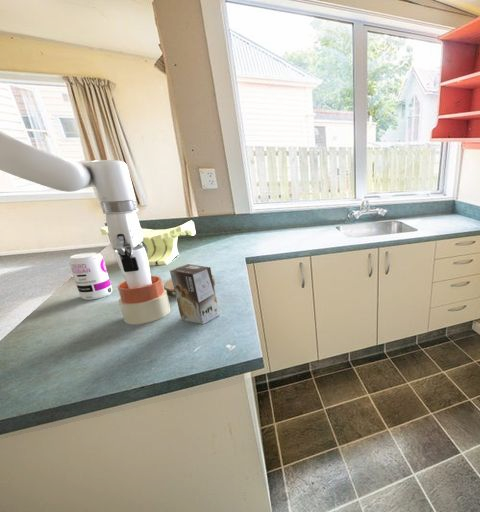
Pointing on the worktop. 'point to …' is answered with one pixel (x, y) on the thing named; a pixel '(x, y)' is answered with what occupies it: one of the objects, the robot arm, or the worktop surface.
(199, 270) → the coffee box
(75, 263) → the supplement can
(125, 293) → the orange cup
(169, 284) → the brown flat disc
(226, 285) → the worktop surface
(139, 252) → the white tumbler
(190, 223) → the slatted curved stool
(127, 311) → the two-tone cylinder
